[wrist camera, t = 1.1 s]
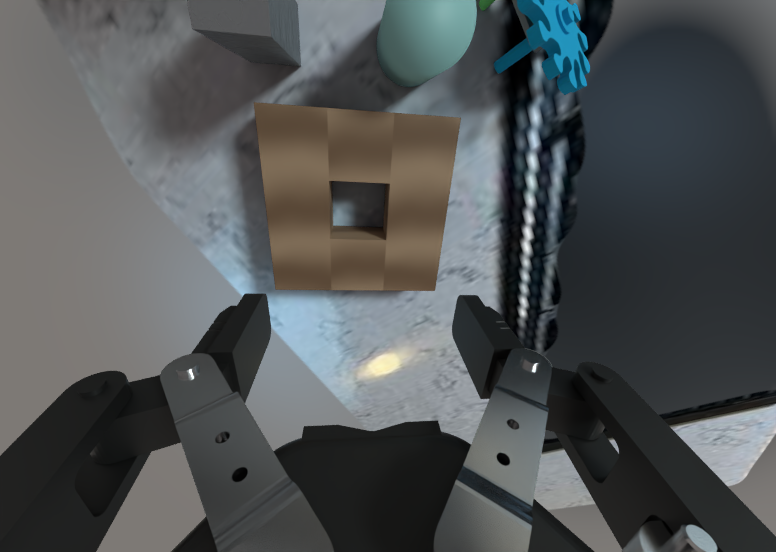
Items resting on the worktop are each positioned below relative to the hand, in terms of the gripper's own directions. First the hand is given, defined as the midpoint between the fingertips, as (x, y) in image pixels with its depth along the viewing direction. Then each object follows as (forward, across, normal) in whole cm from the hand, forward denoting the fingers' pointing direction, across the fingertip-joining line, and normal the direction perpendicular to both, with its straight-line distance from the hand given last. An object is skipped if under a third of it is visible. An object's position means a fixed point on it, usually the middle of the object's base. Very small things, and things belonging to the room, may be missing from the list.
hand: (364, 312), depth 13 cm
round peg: (+20, -4, -13) cm, 24 cm away
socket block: (+20, 0, 0) cm, 20 cm away
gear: (+20, -14, -15) cm, 29 cm away
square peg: (+20, +7, -13) cm, 25 cm away
